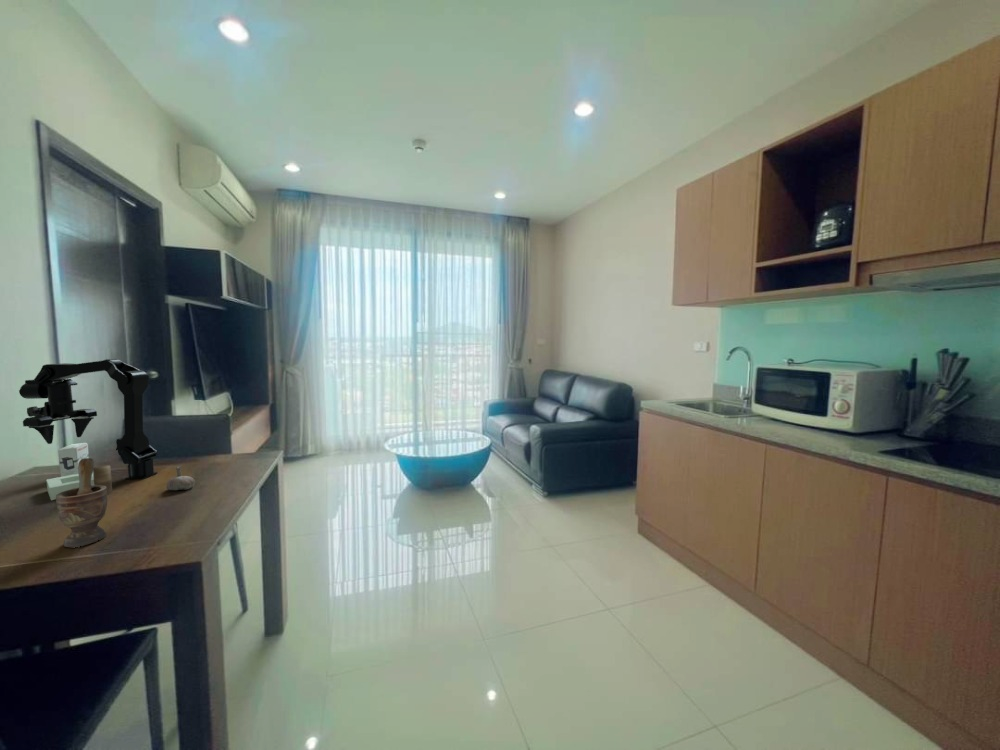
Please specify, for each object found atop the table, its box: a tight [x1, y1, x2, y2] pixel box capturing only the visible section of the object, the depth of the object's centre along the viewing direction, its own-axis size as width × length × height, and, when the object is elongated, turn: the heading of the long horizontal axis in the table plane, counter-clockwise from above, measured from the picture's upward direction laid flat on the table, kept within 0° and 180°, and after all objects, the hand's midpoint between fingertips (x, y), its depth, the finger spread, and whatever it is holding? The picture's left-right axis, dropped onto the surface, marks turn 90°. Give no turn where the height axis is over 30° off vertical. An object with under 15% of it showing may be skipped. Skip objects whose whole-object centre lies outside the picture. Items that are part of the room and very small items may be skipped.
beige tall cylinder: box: [93, 464, 113, 495], centre depth 125 cm, size 4×4×9 cm
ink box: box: [57, 442, 90, 477], centre depth 140 cm, size 8×5×12 cm, turn 28°
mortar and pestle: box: [55, 457, 108, 549], centre depth 96 cm, size 12×9×20 cm
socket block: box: [46, 473, 94, 501], centre depth 128 cm, size 12×12×4 cm
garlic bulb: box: [166, 466, 196, 491], centre depth 130 cm, size 8×7×8 cm
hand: (64, 440), depth 138 cm, fingers open, 9 cm apart
